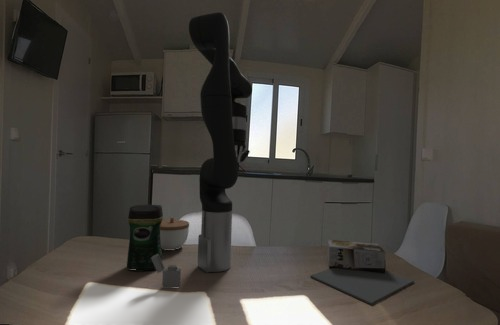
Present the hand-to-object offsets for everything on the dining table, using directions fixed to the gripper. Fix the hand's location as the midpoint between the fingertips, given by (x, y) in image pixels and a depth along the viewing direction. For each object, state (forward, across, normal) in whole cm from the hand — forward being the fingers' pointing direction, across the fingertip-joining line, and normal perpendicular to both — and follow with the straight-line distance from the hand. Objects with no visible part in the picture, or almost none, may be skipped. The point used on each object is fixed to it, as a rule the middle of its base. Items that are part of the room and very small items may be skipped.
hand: (234, 172), depth 106 cm
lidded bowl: (+29, -22, +8) cm, 37 cm away
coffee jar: (+30, -35, -6) cm, 46 cm away
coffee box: (+25, +14, -35) cm, 45 cm away
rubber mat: (+29, +12, -48) cm, 57 cm away
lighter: (+30, -34, -22) cm, 51 cm away
